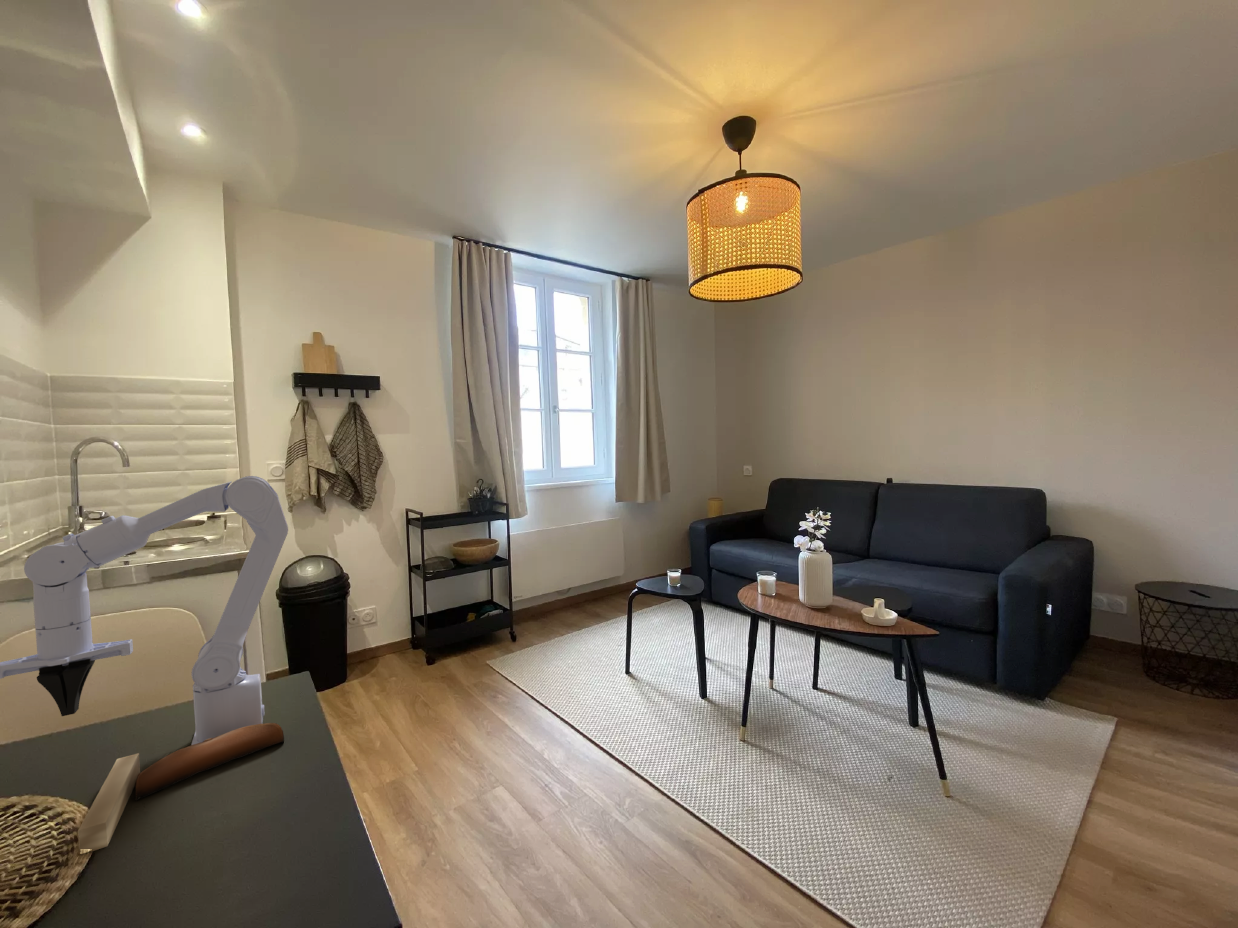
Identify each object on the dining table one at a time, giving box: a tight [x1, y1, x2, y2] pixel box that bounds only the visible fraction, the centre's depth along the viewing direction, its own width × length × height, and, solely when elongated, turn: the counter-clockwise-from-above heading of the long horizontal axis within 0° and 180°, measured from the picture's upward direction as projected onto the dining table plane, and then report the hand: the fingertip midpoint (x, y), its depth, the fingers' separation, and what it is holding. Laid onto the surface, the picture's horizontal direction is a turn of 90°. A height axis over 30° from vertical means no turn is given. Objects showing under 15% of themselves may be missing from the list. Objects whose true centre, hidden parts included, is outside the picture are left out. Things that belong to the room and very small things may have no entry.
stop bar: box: [77, 752, 141, 852], centre depth 70 cm, size 2×18×3 cm, turn 33°
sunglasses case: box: [134, 722, 285, 801], centre depth 80 cm, size 18×7×7 cm, turn 138°
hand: (70, 712), depth 78 cm, fingers closed
